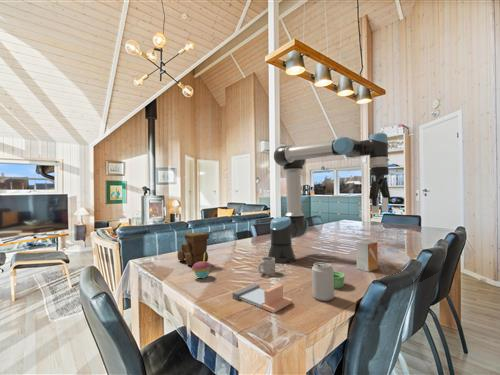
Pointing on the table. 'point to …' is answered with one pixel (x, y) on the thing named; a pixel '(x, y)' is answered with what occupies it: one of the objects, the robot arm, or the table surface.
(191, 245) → the wooden toy train
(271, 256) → the robot arm
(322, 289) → the can
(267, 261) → the mug
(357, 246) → the small box
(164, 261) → the table surface
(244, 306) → the table surface
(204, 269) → the cupcake
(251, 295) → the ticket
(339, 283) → the ramekin
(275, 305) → the stub
